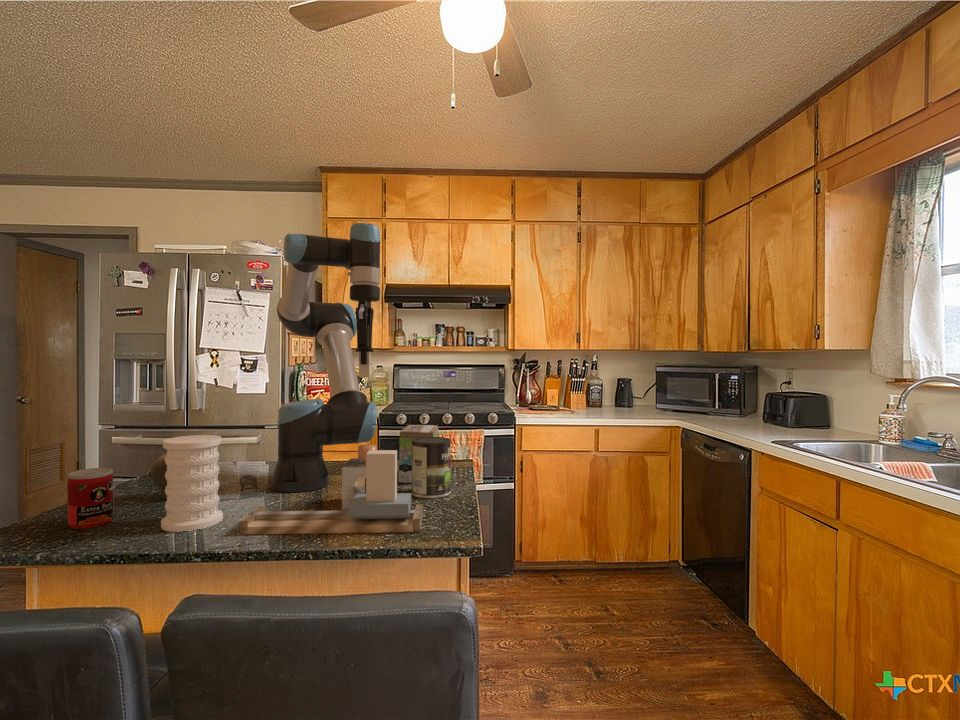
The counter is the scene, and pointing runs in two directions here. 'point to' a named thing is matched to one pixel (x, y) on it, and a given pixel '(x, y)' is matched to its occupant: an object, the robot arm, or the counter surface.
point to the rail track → (325, 522)
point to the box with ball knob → (353, 481)
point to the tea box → (406, 447)
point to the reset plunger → (365, 451)
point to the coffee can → (431, 467)
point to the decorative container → (192, 483)
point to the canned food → (90, 498)
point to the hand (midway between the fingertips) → (364, 377)
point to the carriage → (381, 489)
